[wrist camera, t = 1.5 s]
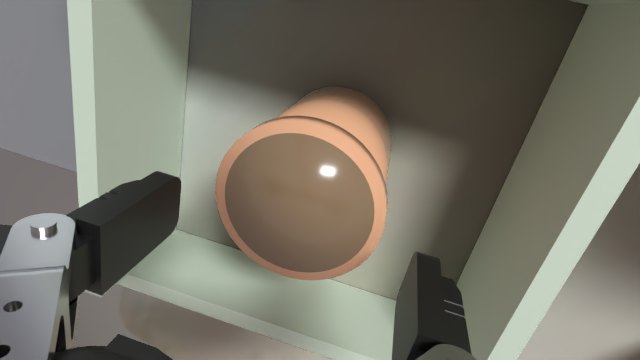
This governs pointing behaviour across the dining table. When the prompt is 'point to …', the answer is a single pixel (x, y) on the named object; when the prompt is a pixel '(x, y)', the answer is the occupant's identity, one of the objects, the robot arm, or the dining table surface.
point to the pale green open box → (328, 295)
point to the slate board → (36, 82)
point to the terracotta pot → (309, 186)
